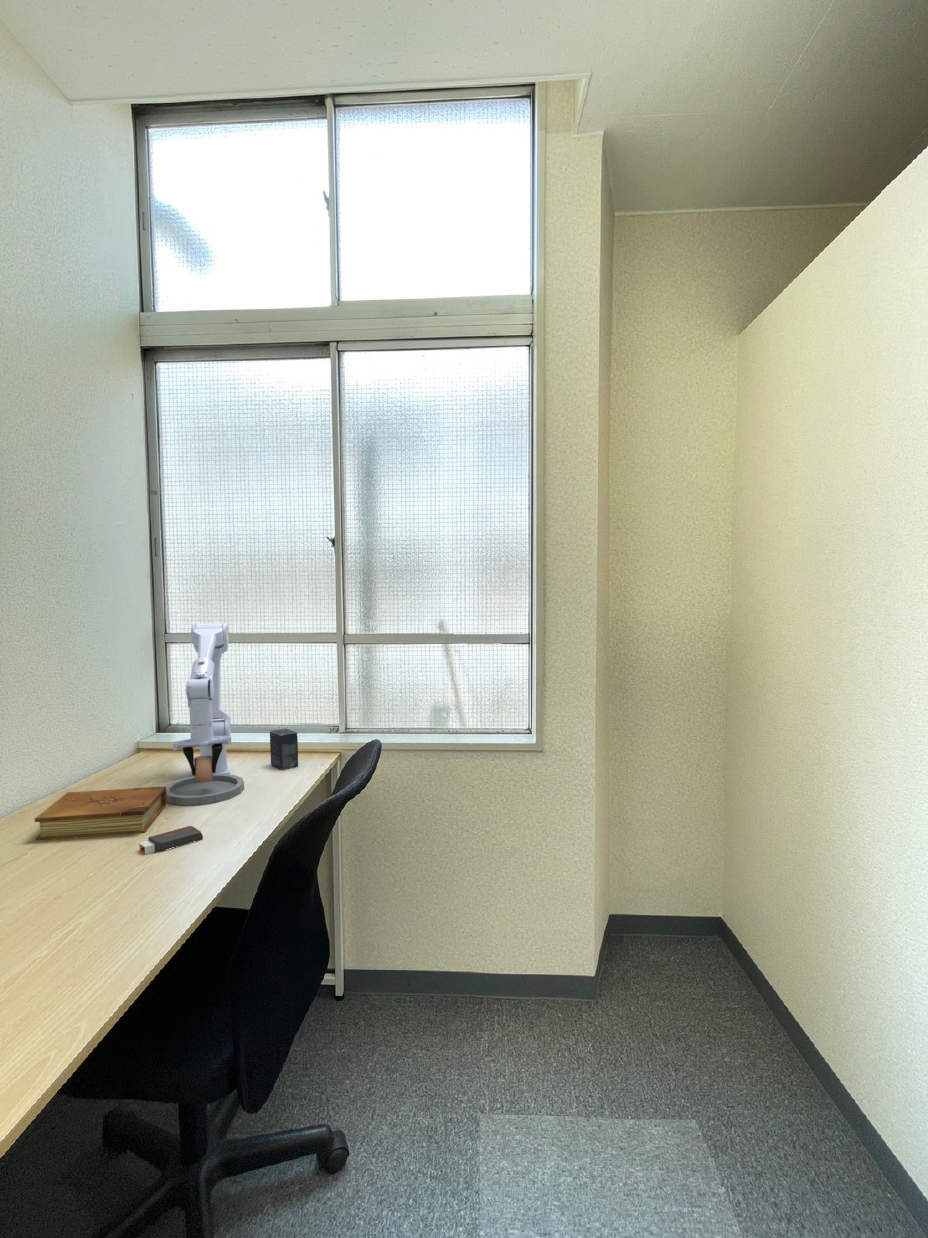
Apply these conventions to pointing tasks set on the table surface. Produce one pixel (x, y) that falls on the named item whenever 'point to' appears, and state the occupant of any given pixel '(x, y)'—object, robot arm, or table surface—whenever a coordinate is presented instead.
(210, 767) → the terracotta rounded cylinder
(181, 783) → the round tray
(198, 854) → the table surface
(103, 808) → the diary
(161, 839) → the usb drive
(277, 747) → the box
